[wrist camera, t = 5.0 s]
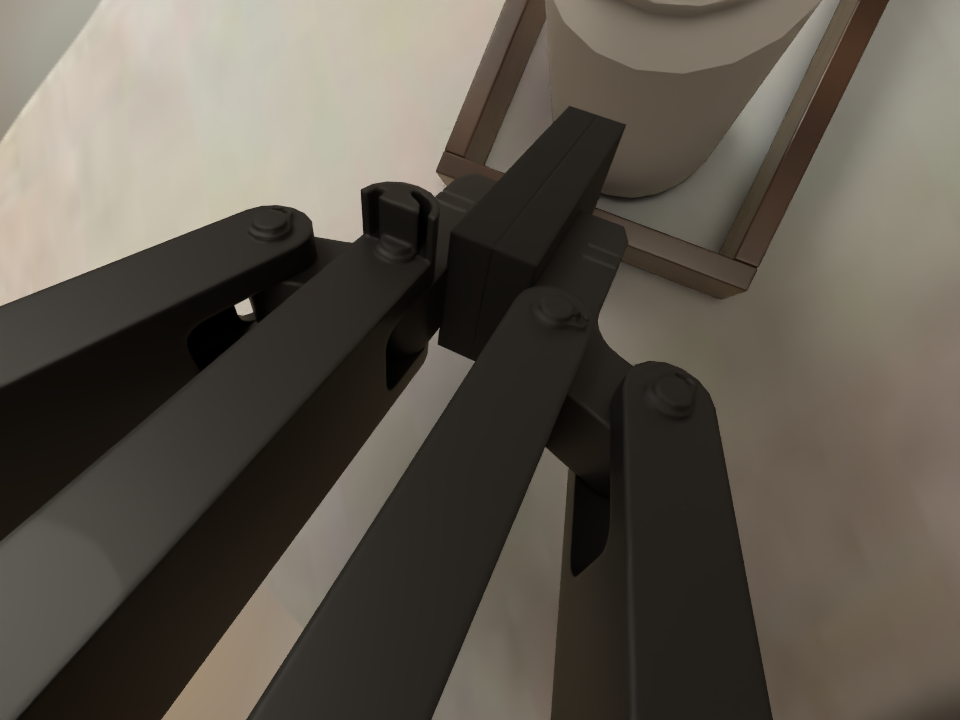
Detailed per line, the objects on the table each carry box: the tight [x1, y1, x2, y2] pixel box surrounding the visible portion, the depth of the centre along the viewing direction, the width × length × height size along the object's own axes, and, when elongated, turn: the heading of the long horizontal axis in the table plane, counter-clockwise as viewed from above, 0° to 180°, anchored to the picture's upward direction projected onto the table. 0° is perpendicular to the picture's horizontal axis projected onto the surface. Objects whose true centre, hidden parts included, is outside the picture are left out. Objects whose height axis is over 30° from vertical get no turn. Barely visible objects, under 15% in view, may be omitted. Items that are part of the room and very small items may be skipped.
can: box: [545, 0, 822, 198], centre depth 16 cm, size 8×8×12 cm
